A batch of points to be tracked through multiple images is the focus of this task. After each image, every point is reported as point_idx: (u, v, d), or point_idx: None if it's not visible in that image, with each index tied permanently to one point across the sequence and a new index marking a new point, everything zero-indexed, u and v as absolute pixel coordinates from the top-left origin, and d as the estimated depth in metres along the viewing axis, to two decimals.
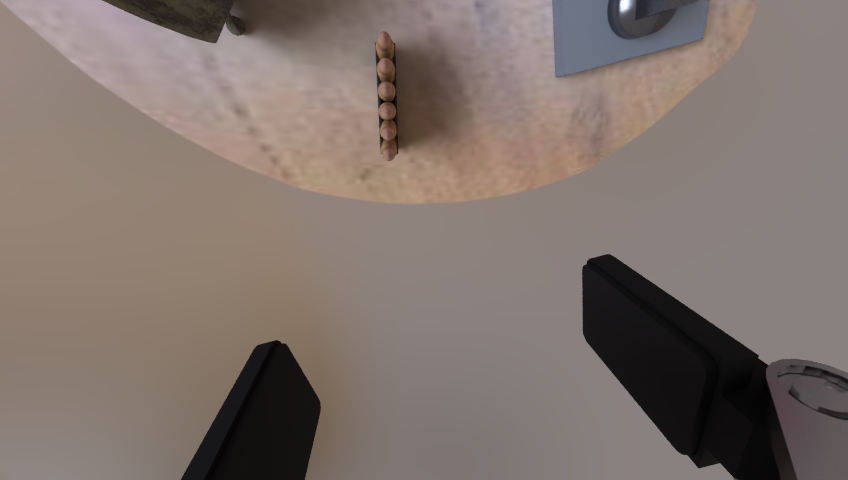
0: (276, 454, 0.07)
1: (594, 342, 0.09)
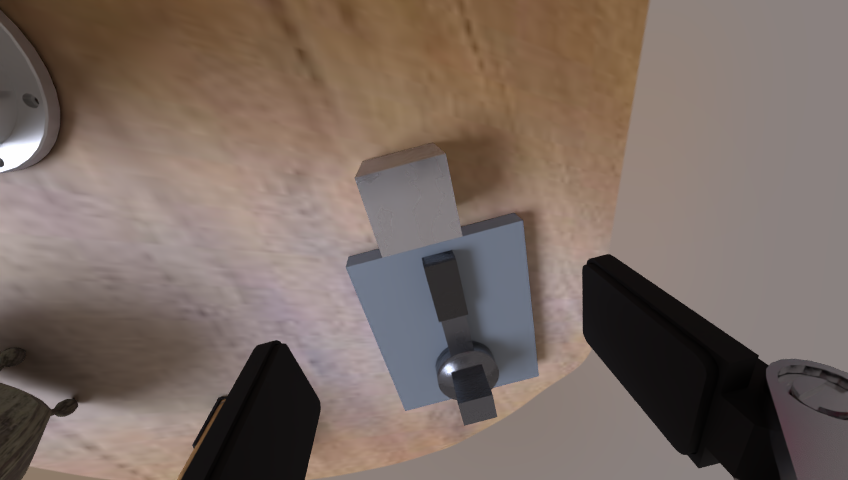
0: (276, 454, 0.07)
1: (594, 342, 0.09)
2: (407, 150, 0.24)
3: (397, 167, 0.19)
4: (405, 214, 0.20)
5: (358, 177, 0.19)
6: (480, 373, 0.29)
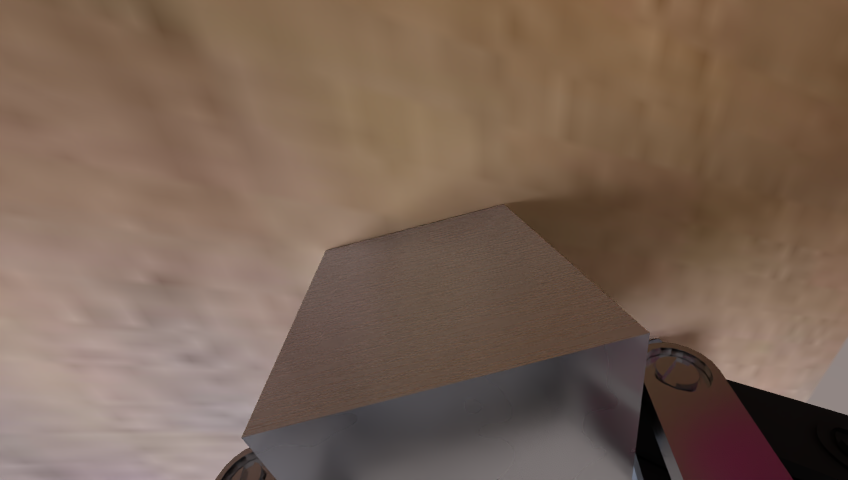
0: None
1: None
2: (440, 228, 0.09)
3: (432, 391, 0.04)
4: None
5: (259, 433, 0.04)
6: None
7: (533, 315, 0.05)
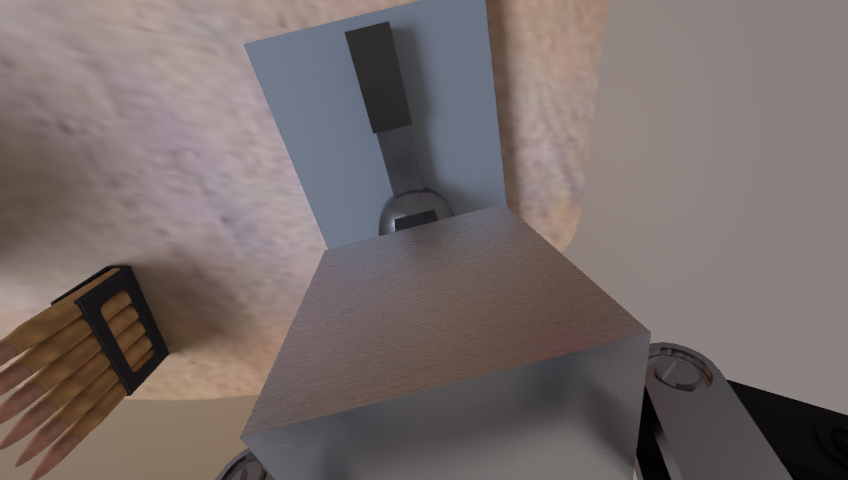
0: None
1: None
2: (440, 227, 0.09)
3: (431, 391, 0.04)
4: None
5: (258, 433, 0.04)
6: (430, 215, 0.22)
7: (533, 314, 0.05)
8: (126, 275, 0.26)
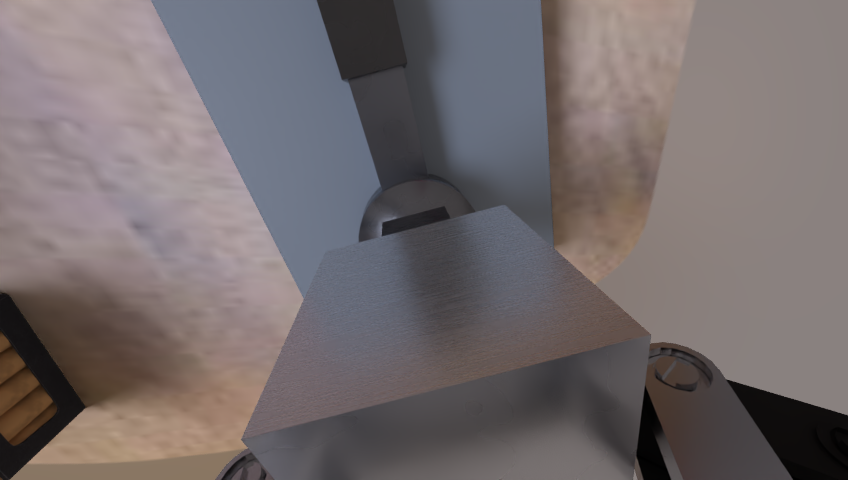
0: None
1: None
2: (441, 228, 0.09)
3: (432, 393, 0.04)
4: None
5: (259, 435, 0.04)
6: (439, 215, 0.14)
7: (534, 316, 0.05)
8: (0, 307, 0.18)
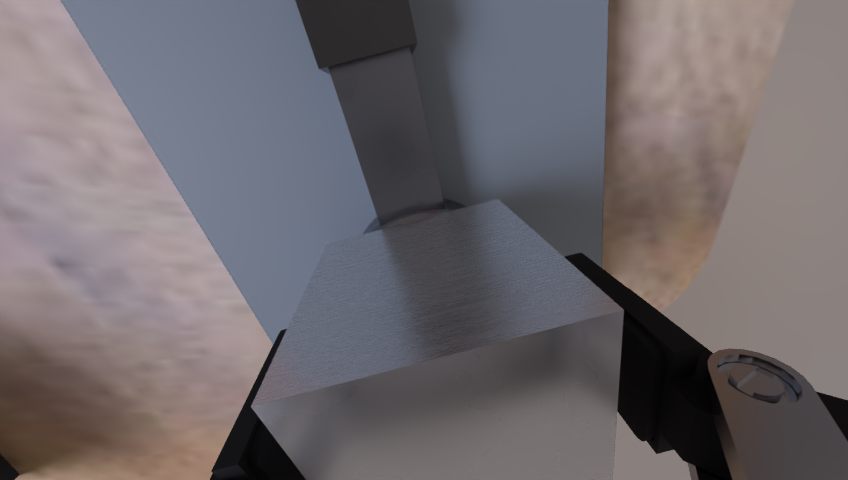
0: None
1: None
2: (436, 221, 0.10)
3: (425, 364, 0.05)
4: (447, 479, 0.06)
5: (267, 403, 0.05)
6: None
7: (519, 297, 0.05)
8: None
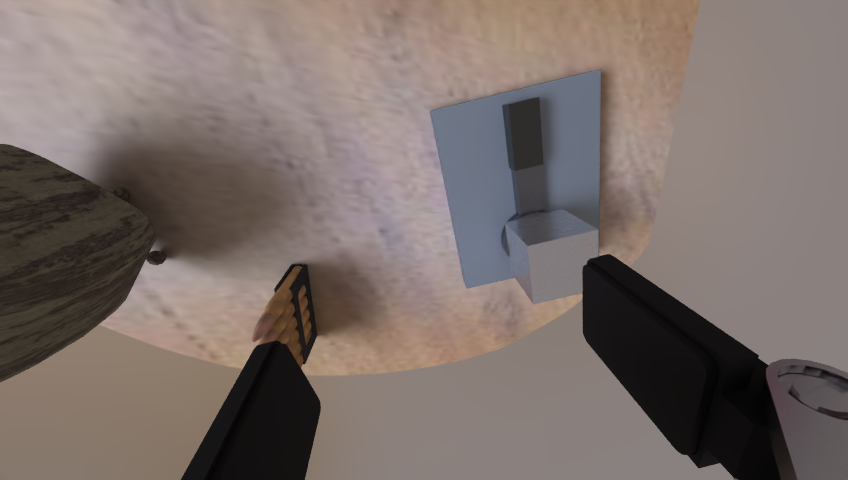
0: (276, 454, 0.07)
1: (594, 342, 0.09)
2: (543, 215, 0.30)
3: (560, 239, 0.25)
4: (558, 272, 0.26)
5: (530, 245, 0.25)
6: None
7: (577, 229, 0.26)
8: (305, 271, 0.35)
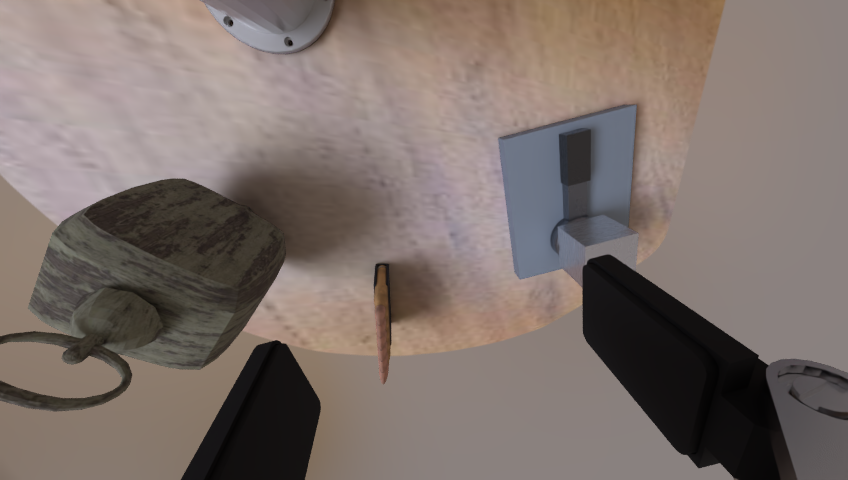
0: (276, 454, 0.07)
1: (594, 342, 0.09)
2: (589, 220, 0.37)
3: (610, 240, 0.33)
4: None
5: (587, 246, 0.33)
6: None
7: (621, 232, 0.33)
8: (388, 269, 0.42)
